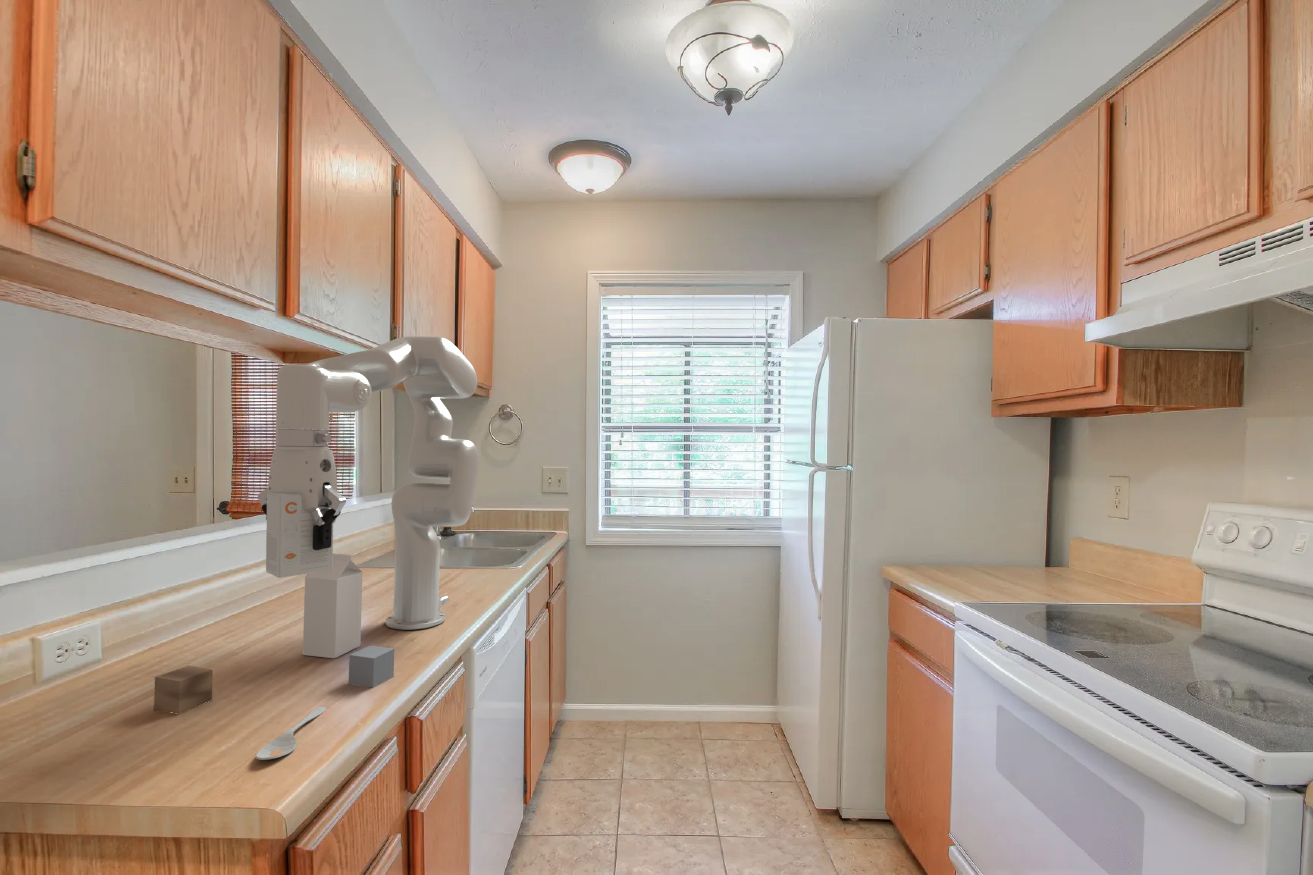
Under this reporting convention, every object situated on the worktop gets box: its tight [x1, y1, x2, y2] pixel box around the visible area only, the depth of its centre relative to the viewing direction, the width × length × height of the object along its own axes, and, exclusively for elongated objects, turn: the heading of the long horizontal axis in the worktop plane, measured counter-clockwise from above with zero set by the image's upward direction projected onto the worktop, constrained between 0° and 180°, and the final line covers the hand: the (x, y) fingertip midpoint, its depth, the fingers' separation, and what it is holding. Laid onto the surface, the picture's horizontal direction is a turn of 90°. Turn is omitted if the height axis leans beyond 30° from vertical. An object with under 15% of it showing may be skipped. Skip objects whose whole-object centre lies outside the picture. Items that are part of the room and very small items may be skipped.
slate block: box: [348, 645, 395, 688], centre depth 103 cm, size 5×5×5 cm
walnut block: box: [153, 665, 214, 715], centre depth 92 cm, size 5×5×5 cm
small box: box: [265, 493, 334, 579], centre depth 98 cm, size 8×6×13 cm
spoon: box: [255, 706, 327, 761], centre depth 86 cm, size 4×21×2 cm, turn 6°
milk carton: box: [302, 553, 363, 659], centre depth 116 cm, size 7×7×19 cm
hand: (299, 546), depth 98 cm, fingers closed on small box, 8 cm apart
